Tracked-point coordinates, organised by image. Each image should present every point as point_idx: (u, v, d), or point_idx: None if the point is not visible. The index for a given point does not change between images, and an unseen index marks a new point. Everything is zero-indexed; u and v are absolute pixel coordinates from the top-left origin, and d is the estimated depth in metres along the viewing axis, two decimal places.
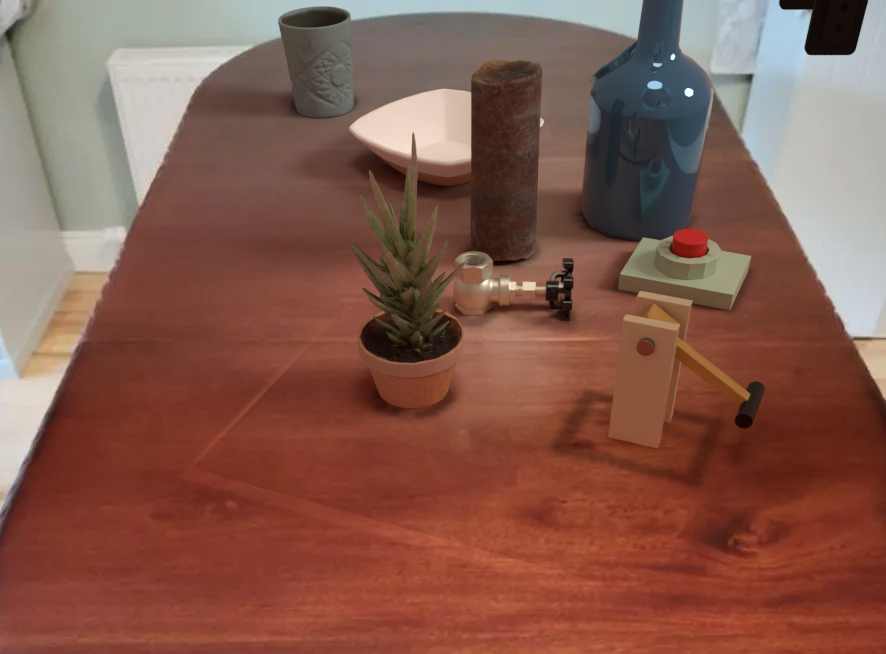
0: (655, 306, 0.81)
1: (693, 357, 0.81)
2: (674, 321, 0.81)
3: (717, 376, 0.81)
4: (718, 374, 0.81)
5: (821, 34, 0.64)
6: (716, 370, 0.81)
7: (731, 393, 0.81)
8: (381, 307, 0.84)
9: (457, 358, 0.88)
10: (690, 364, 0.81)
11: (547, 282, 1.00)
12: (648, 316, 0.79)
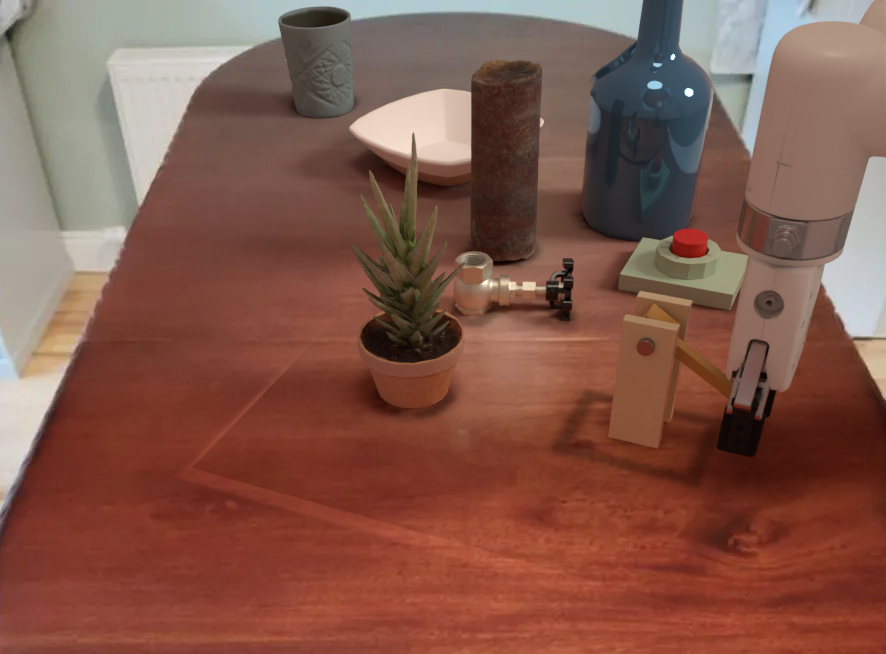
0: (655, 306, 0.81)
1: (693, 357, 0.81)
2: (674, 321, 0.81)
3: (717, 376, 0.81)
4: (718, 374, 0.81)
5: (727, 439, 0.81)
6: (716, 370, 0.81)
7: None
8: (381, 307, 0.84)
9: (457, 358, 0.88)
10: (690, 364, 0.81)
11: (547, 282, 1.00)
12: (648, 316, 0.79)
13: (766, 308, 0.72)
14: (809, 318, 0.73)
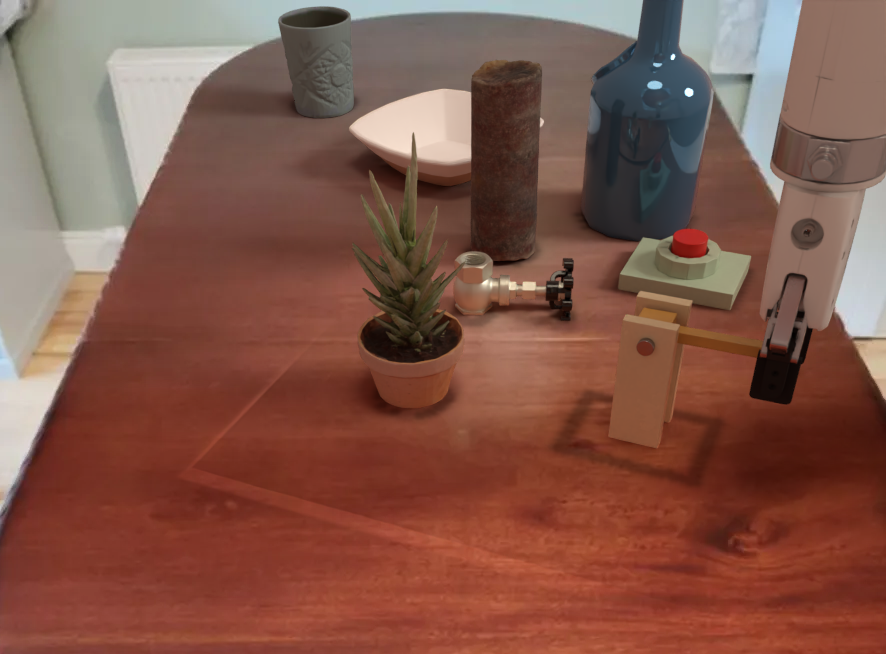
0: (645, 309, 0.81)
1: (700, 336, 0.79)
2: (669, 313, 0.80)
3: (732, 342, 0.78)
4: (732, 340, 0.79)
5: (761, 386, 0.77)
6: (730, 337, 0.79)
7: (754, 351, 0.78)
8: (381, 307, 0.84)
9: (457, 358, 0.88)
10: (701, 343, 0.80)
11: (547, 282, 1.00)
12: None
13: (804, 239, 0.68)
14: (849, 250, 0.69)
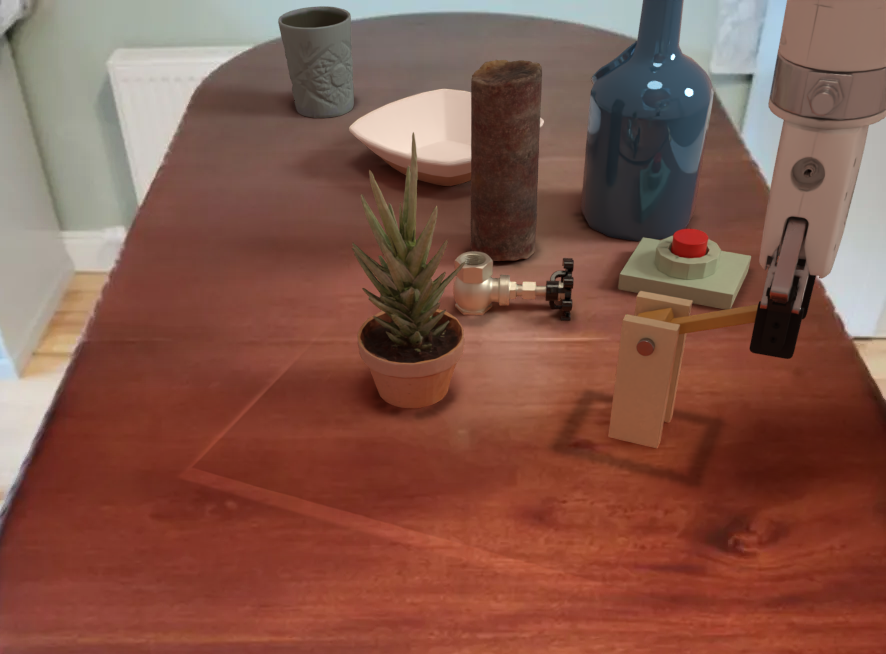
0: (640, 314, 0.82)
1: (697, 319, 0.78)
2: (663, 310, 0.80)
3: (729, 315, 0.77)
4: (730, 313, 0.77)
5: (762, 339, 0.74)
6: (727, 311, 0.78)
7: (754, 315, 0.76)
8: (381, 307, 0.84)
9: (457, 358, 0.88)
10: (701, 327, 0.79)
11: (547, 282, 1.00)
12: None
13: (804, 180, 0.65)
14: (852, 192, 0.66)
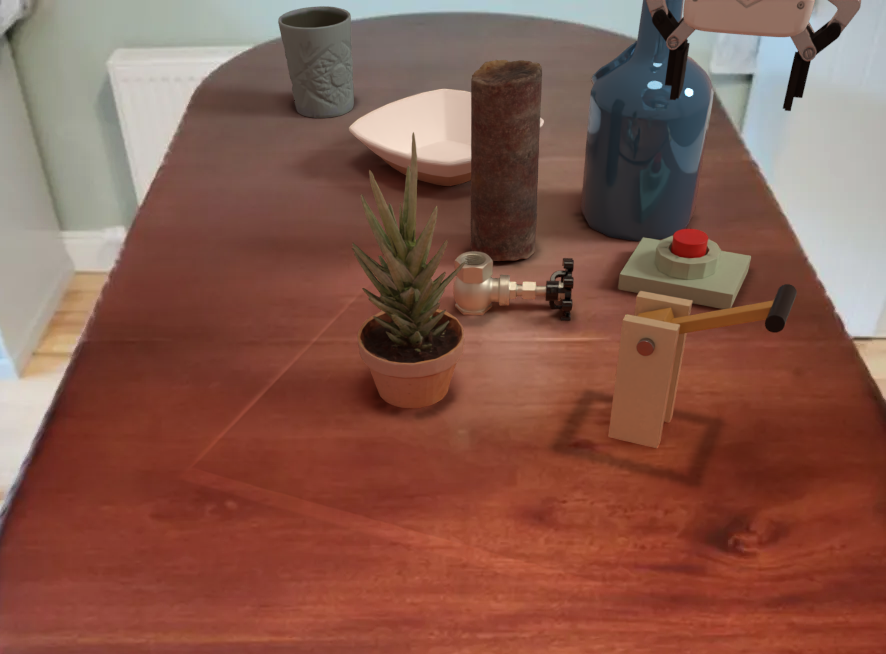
0: (640, 314, 0.82)
1: (697, 319, 0.78)
2: (663, 310, 0.80)
3: (728, 314, 0.77)
4: (729, 312, 0.77)
5: None
6: (727, 310, 0.78)
7: (754, 314, 0.76)
8: (381, 307, 0.84)
9: (457, 358, 0.88)
10: (701, 326, 0.79)
11: (547, 282, 1.00)
12: None
13: None
14: None
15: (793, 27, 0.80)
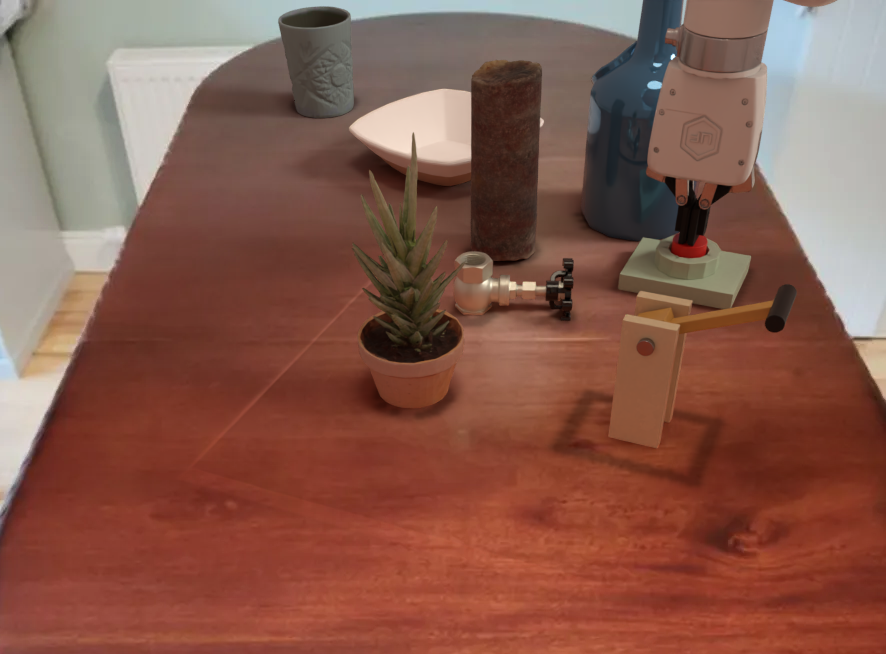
0: (640, 314, 0.82)
1: (697, 319, 0.78)
2: (663, 310, 0.80)
3: (728, 314, 0.77)
4: (729, 312, 0.77)
5: None
6: (727, 310, 0.78)
7: (754, 314, 0.76)
8: (381, 307, 0.84)
9: (457, 358, 0.88)
10: (701, 326, 0.79)
11: (547, 282, 1.00)
12: None
13: None
14: (685, 125, 0.94)
15: (735, 179, 0.96)
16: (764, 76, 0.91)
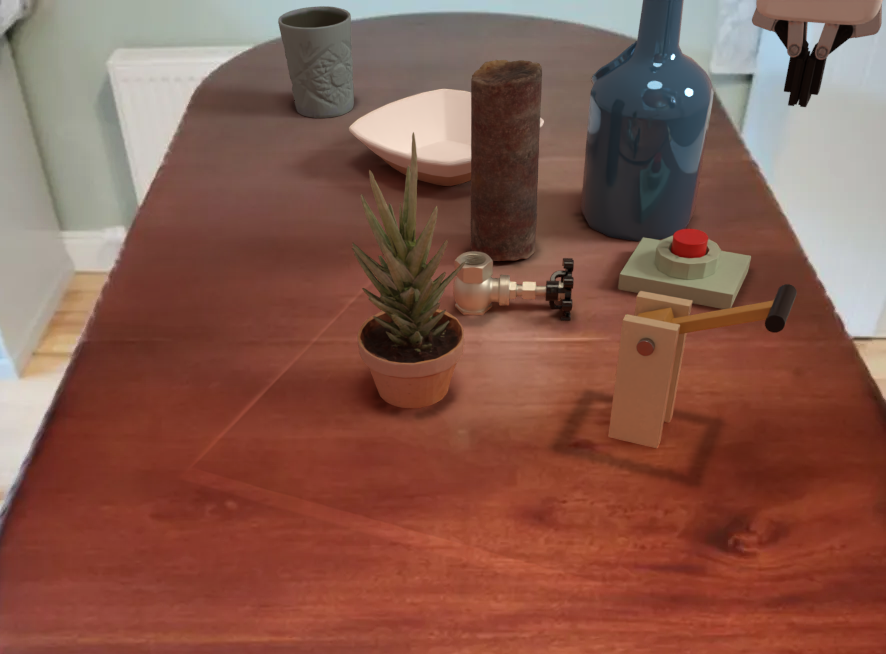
0: (640, 314, 0.82)
1: (697, 319, 0.78)
2: (663, 310, 0.80)
3: (728, 314, 0.77)
4: (729, 312, 0.77)
5: None
6: (727, 310, 0.78)
7: (754, 314, 0.76)
8: (381, 307, 0.84)
9: (457, 358, 0.88)
10: (701, 326, 0.79)
11: (547, 282, 1.00)
12: None
13: None
14: None
15: (863, 15, 0.83)
16: None
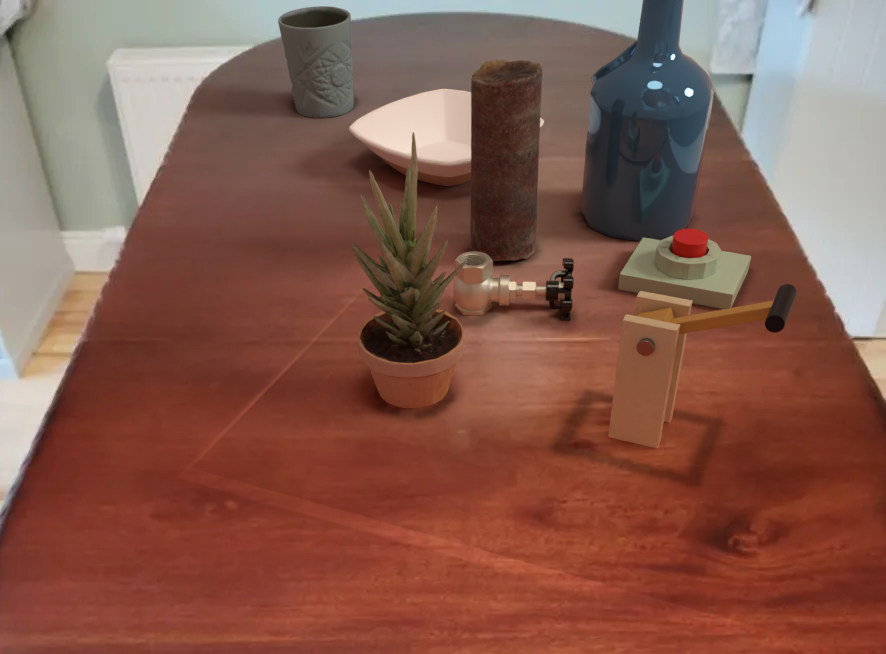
0: (640, 314, 0.82)
1: (697, 319, 0.78)
2: (663, 310, 0.80)
3: (728, 314, 0.77)
4: (729, 312, 0.77)
5: None
6: (727, 310, 0.78)
7: (754, 314, 0.76)
8: (381, 307, 0.84)
9: (457, 358, 0.88)
10: (701, 326, 0.79)
11: (547, 282, 1.00)
12: None
13: None
14: None
15: None
16: None
